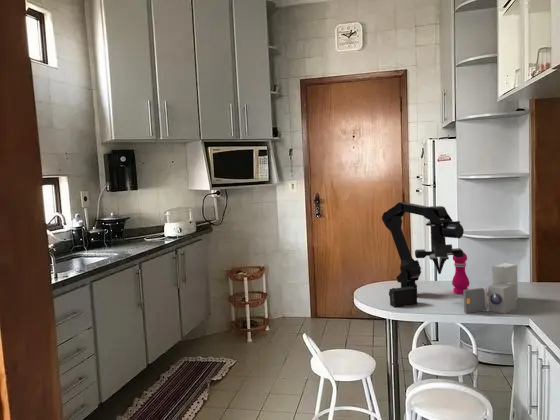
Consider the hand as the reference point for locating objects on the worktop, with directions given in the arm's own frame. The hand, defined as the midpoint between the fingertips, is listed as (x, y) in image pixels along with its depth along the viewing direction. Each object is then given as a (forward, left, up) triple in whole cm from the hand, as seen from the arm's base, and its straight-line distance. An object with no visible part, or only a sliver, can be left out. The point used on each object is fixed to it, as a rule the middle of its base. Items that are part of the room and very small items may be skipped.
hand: (439, 273), depth 192 cm
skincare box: (+26, +2, -12) cm, 29 cm away
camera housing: (+21, -12, -12) cm, 27 cm away
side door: (+11, -15, -12) cm, 22 cm away
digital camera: (-16, -4, -12) cm, 20 cm away
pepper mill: (+11, +15, -12) cm, 22 cm away
